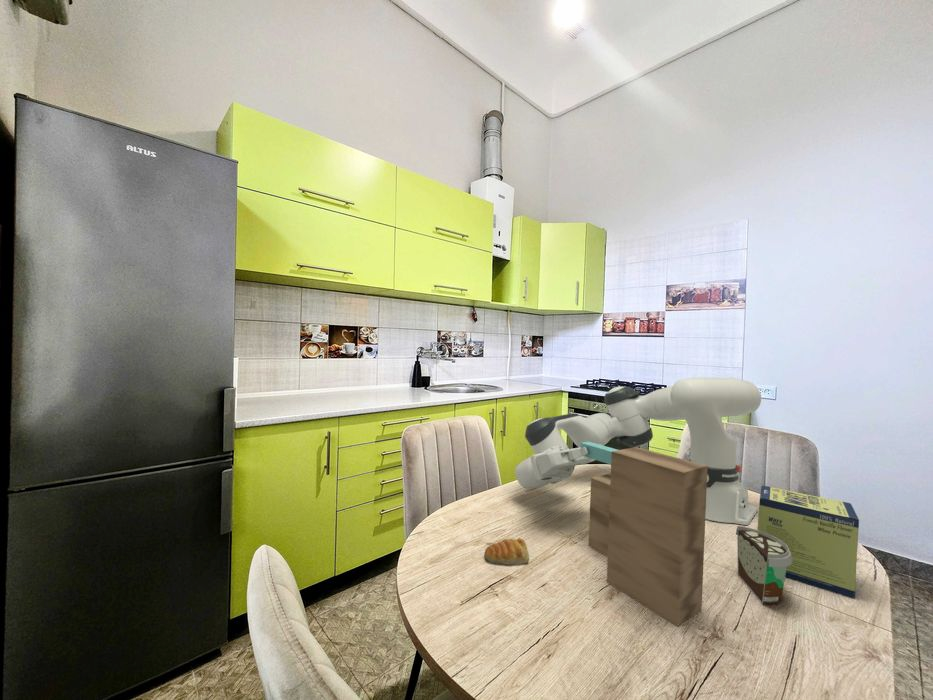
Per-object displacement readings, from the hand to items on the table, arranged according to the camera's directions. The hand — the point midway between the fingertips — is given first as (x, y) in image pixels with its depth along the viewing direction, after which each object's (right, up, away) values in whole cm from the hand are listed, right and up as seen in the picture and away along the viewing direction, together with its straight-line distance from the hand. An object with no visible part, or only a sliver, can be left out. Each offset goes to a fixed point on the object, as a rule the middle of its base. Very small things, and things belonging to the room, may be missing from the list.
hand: (593, 449), depth 95 cm
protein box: (+40, -23, -13) cm, 48 cm away
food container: (+27, -23, -20) cm, 41 cm away
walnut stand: (+4, -22, -15) cm, 27 cm away
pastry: (-22, -21, -11) cm, 33 cm away
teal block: (+4, -2, -6) cm, 7 cm away
